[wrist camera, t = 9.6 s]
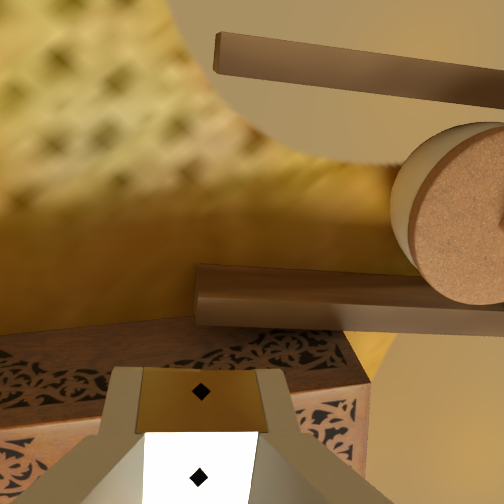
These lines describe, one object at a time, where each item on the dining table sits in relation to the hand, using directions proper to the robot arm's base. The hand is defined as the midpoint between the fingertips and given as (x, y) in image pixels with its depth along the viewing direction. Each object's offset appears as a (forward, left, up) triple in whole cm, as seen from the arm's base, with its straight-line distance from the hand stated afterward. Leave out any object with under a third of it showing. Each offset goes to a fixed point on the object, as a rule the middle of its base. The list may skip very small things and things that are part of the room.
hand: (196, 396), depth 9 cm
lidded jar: (+1, +18, -25) cm, 30 cm away
